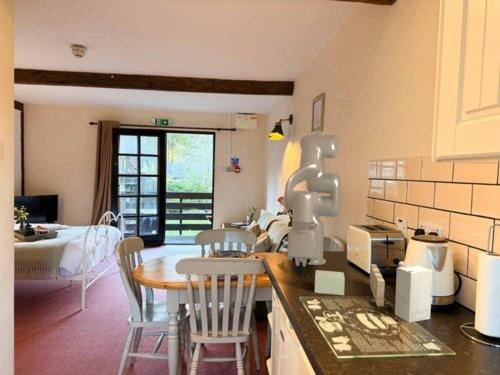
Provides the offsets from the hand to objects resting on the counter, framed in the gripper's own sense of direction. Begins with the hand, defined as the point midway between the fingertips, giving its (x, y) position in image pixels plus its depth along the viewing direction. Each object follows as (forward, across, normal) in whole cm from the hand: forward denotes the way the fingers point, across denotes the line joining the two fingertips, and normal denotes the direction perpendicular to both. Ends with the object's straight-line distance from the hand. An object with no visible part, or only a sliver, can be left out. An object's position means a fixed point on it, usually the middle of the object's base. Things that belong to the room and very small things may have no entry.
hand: (300, 276), depth 129 cm
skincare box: (+4, -34, +18) cm, 39 cm away
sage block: (+4, -10, 0) cm, 11 cm away
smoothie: (+4, -38, -10) cm, 40 cm away
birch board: (+4, -26, 0) cm, 27 cm away
